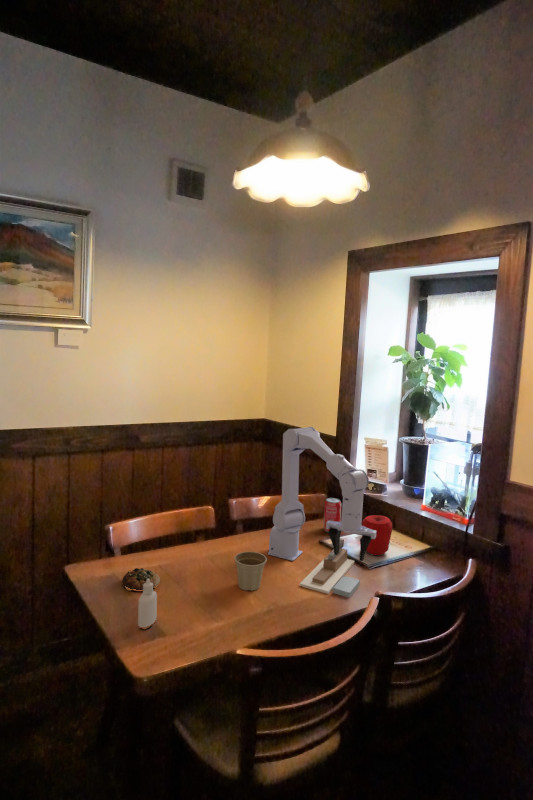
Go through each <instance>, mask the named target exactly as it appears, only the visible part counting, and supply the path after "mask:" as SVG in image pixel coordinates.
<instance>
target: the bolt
mask: <svg viewBox="0 0 533 800" xmlns="http://www.w3.org/2000/svg"><path fill="white" fill-rule="evenodd" d="M344 546H345V538H341V537H340V543H339V553H340V552H341V551H342V549H343V548H344ZM332 550H333V549H332ZM332 550H331V551H332ZM329 553H330V552H329ZM329 553H328V554H329ZM339 553H338V554H339ZM328 554H327V555H328ZM338 554H337V555H338ZM337 555H334V550H333V551H332V552H331V553H330V554H329V555H328V559H330V560H333V559H334V558H335V557H336V556H337Z"/></svg>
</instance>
